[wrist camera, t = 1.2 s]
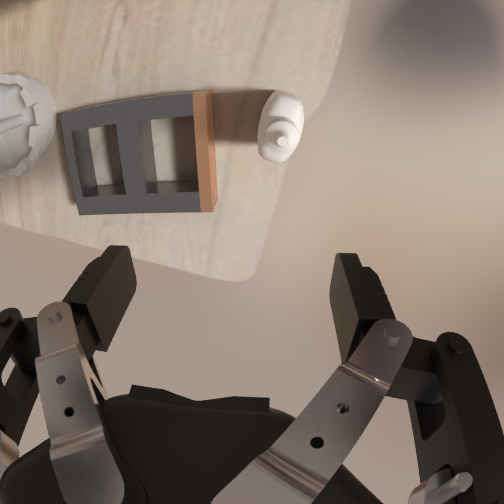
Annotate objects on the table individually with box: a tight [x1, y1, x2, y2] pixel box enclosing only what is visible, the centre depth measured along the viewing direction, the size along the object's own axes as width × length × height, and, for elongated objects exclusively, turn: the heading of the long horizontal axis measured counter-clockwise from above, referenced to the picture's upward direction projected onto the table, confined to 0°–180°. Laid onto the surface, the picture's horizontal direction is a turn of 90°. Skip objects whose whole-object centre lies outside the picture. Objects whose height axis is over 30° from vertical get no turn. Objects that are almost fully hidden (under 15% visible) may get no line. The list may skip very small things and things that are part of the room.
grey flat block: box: [60, 90, 218, 215], centre depth 31 cm, size 12×16×4 cm
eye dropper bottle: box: [257, 90, 304, 163], centre depth 25 cm, size 4×6×12 cm
